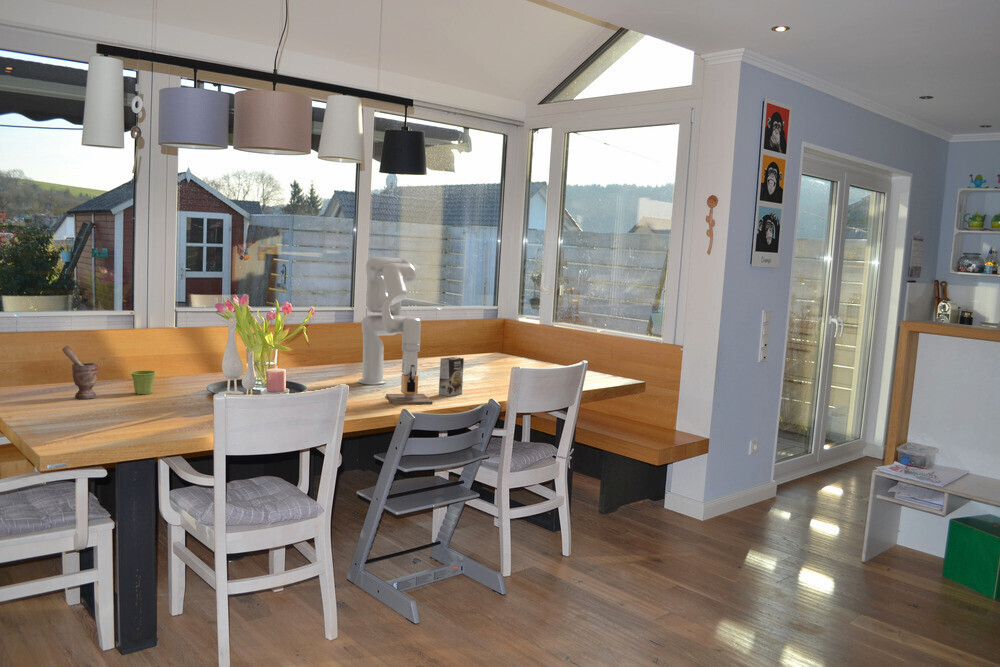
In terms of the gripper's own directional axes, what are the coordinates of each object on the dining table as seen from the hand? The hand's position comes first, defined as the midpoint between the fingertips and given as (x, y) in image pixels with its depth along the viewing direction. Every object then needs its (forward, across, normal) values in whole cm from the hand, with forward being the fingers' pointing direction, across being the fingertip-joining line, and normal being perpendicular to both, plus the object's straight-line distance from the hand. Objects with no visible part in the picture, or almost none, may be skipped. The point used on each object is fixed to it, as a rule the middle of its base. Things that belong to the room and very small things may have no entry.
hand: (409, 389), depth 321 cm
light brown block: (+1, 0, 0) cm, 1 cm away
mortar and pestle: (+4, -13, -125) cm, 126 cm away
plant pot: (+4, -21, -104) cm, 106 cm away
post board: (+4, 0, 0) cm, 4 cm away
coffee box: (+5, -12, +21) cm, 25 cm away
